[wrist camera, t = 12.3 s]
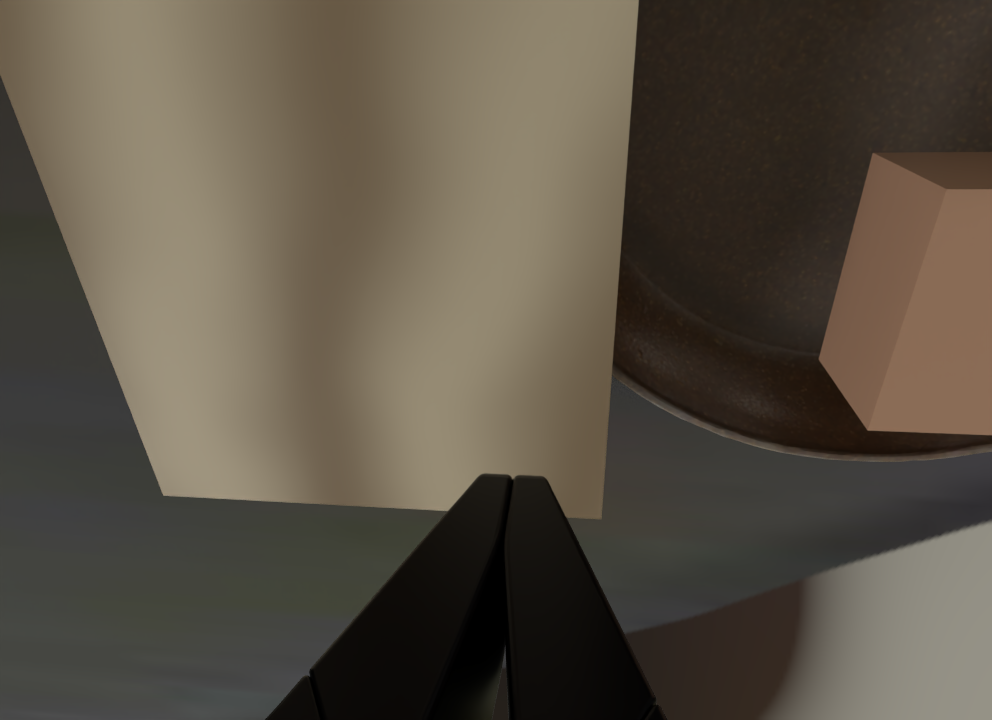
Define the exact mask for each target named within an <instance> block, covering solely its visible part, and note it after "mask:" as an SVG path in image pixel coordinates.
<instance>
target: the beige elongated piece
mask: <svg viewBox="0 0 992 720" xmlns="http://www.w3.org/2000/svg"><path fill="white" fill-rule="evenodd" d="M638 5H639V0H0V75H1V78H2V80H3V83H4V85H5V88H6V91H7V93H8V96H9V98H10V101H11V103H12V106H13V109H14V111H15V114H16V116H17V119H18V122H19V124H20V127H21V129H22V132H23V134H24V137H25V140H26V142H27V145H28V147H29V150H30V153H31V155H32V158H33V160H34V163H35V165H36V168H37V171H38V173H39V176H40V178H41V181H42V183H43V186H44V189H45V191H46V194H47V196H48V199H49V202H50V204H51V207H52V209H53V212H54V214H55V217H56V220H57V222H58V225H59V227H60V230H61V233H62V235H63V238H64V240H65V243H66V245H67V248H68V251H69V253H70V256H71V258H72V261H73V263H74V266H75V269H76V271H77V274H78V276H79V279H80V282H81V284H82V287H83V289H84V292H85V294H86V297H87V300H88V302H89V305H90V307H91V310H92V312H93V315H94V318H95V320H96V323H97V325H98V328H99V331H100V333H101V336H102V338H103V341H104V343H105V346H106V349H107V351H108V354H109V356H110V359H111V362H112V364H113V367H114V369H115V372H116V374H117V377H118V380H119V382H120V385H121V387H122V390H123V392H124V395H125V398H126V400H127V403H128V405H129V408H130V411H131V413H132V416H133V418H134V421H135V423H136V426H137V429H138V431H139V434H140V436H141V439H142V442H143V444H144V447H145V449H146V452H147V454H148V457H149V460H150V462H151V465H152V467H153V470H154V472H155V475H156V478H157V480H158V483H159V485H160V488H161V491H162V493H163V496H182V497H200V498H219V499H237V500H256V501H274V502H292V503H311V504H329V505H348V506H366V507H385V508H403V509H422V510H440V511H448V510H449V509H450V508H451V507H452V506H453V505H454V503H455V502H456V501H457V500H458V499H459V498H460V497H461V495H462V494H463V493H464V492H465V491H466V490H467V489H468V487H469V486H470V485H471V484H472V483H473V482H474V481H475V479H476V478H477V477H478V476H479V475H481V474H484V473H491V474H508V475H510V476H511V477H512V479H514V477H515V476H517V475H534V476H544V477H545V478H546V479H547V480H548V482H549V484H550V486H551V488H552V490H553V492H554V494H555V496H556V498H557V500H558V502H559V504H560V506H561V508H562V510H563V512H564V514H565V516H566V517H569V518H588V519H601V516H602V502H603V488H604V475H605V461H606V447H607V433H608V419H609V405H610V392H611V378H612V364H613V350H614V336H615V323H616V309H617V295H618V281H619V267H620V253H621V240H622V226H623V212H624V198H625V184H626V170H627V157H628V143H629V129H630V115H631V101H632V88H633V74H634V60H635V46H636V32H637V18H638Z"/></svg>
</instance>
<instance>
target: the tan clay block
mask: <svg viewBox="0 0 992 720" xmlns="http://www.w3.org/2000/svg"><path fill="white" fill-rule="evenodd" d="M819 361H820V362H821V364H822V365H823V367H824V368H825V369H826V371H827V372H828V374H829V375H830V377H831V378H832V380H833V381H834V382H835V384H836V385H837V387H838V388H839V390H840V391H841V393H842V394H843V396H844V397H845V398H846V400H847V401H848V403H849V404H850V406H851V407H852V409H853V410H854V412H855V413H856V414H857V416H858V417H859V419H860V420H861V422H862V423H863V425H864V426H865V427H866V429H867V430H868V431H894V432H920V433H946V434H972V435H992V152H904V153H873V154H872V158H871V162H870V165H869V169H868V173H867V177H866V181H865V184H864V188H863V192H862V196H861V200H860V204H859V207H858V211H857V215H856V219H855V223H854V226H853V230H852V234H851V238H850V242H849V245H848V249H847V253H846V257H845V261H844V265H843V268H842V272H841V276H840V280H839V284H838V287H837V291H836V295H835V299H834V303H833V306H832V310H831V314H830V318H829V322H828V326H827V329H826V333H825V337H824V341H823V345H822V348H821V352H820V356H819Z"/></svg>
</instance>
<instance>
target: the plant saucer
mask: <svg viewBox="0 0 992 720" xmlns="http://www.w3.org/2000/svg"><path fill="white" fill-rule="evenodd" d="M904 152H992V0H639V5H638V18H637V32H636V46H635V60H634V74H633V88H632V101H631V115H630V129H629V143H628V157H627V170H626V184H625V198H624V212H623V226H622V240H621V253H620V267H619V281H618V295H617V309H616V323H615V336H614V350H613V364H612V376H614V377H615V378H616V379H617V380H619V381H620V382H621V383H623V384H624V385H626V386H627V387H629V388H630V389H632V390H633V391H634V392H636V393H637V394H638V395H640V396H641V397H643V398H645V399H647V400H648V401H650V402H652V403H653V404H655V405H656V406H658V407H660V408H662V409H664V410H666V411H667V412H669V413H671V414H673V415H675V416H677V417H679V418H681V419H683V420H686V421H688V422H690V423H693V424H695V425H697V426H700V427H702V428H704V429H707V430H709V431H711V432H714V433H716V434H719V435H721V436H723V437H726V438H730V439H734V440H737V441H740V442H743V443H746V444H749V445H753V446H756V447H760V448H764V449H768V450H772V451H776V452H781V453H787V454H793V455H799V456H806V457H814V458H822V459H831V460H848V461H873V462H903V461H910V460H932V459H942V458H952V457H958V456H964V455H971V454H977V453H984V452H991V451H992V435H972V434H946V433H920V432H894V431H868V430H867V429H866V427H865V426H864V425H863V423H862V422H861V420H860V419H859V417H858V416H857V414H856V413H855V412H854V410H853V409H852V407H851V406H850V404H849V403H848V401H847V400H846V398H845V397H844V396H843V394H842V393H841V391H840V390H839V388H838V387H837V385H836V384H835V382H834V381H833V380H832V378H831V377H830V375H829V374H828V372H827V371H826V369H825V368H824V367H823V365H822V364H821V362H820V361H819V356H820V352H821V348H822V345H823V341H824V337H825V333H826V329H827V326H828V322H829V318H830V314H831V310H832V306H833V303H834V299H835V295H836V291H837V287H838V284H839V280H840V276H841V272H842V268H843V265H844V261H845V257H846V253H847V249H848V245H849V242H850V238H851V234H852V230H853V226H854V223H855V219H856V215H857V211H858V207H859V204H860V200H861V196H862V192H863V188H864V184H865V181H866V177H867V173H868V169H869V165H870V162H871V158H872V154H873V153H904Z"/></svg>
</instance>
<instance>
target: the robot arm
mask: <svg viewBox="0 0 992 720" xmlns="http://www.w3.org/2000/svg"><path fill="white" fill-rule="evenodd" d="M505 645H506V672H507V695H508V716H509V720H667V718H666V716H665V714H664V712H663V710H662V708H661V707H660V706H659V705H656V703H657V700H656V697H655V695H654V693H653V691H652V689H651V687H650V685H649V683H648V681H647V679H646V677H645V675H644V673H643V671H642V669H641V667H640V665H639V663H638V661H637V659H636V657H635V655H634V653H633V651H632V648H631V646H630V644H629V642H628V640H627V639H626V637H625V634H624V632H623V630H622V628H621V626H620V624H619V622H618V620H617V618H616V616H615V614H614V612H613V610H612V608H611V606H610V604H609V602H608V600H607V598H606V596H605V594H604V592H603V590H602V588H601V586H600V584H599V582H598V580H597V578H596V576H595V574H594V572H593V570H592V568H591V566H590V564H589V562H588V560H587V558H586V556H585V554H584V552H583V550H582V548H581V546H580V544H579V542H578V540H577V538H576V536H575V534H574V532H573V530H572V528H571V526H570V524H569V522H568V520H567V518H566V516H565V514H564V512H563V510H562V508H561V506H560V504H559V502H558V500H557V498H556V496H555V494H554V492H553V490H552V488H551V486H550V484H549V482H548V480H547V479H546V478H545V477H544V476H534V475H517V476H515V477H514V479H512V477H511V476H510V475H508V474H491V473H484V474H481V475H479V476H478V477H477V478H476V479H475V481H474V482H473V483H472V484H471V485H470V486H469V487H468V489H467V490H466V491H465V492H464V493H463V494H462V495H461V497H460V498H459V499H458V500H457V501H456V502H455V503H454V505H453V506H452V507H451V508H450V509H449V510H448V512H447V513H446V514H445V515H444V516H443V517H442V518H441V520H440V521H439V522H438V523H437V524H436V525H435V526H434V528H433V529H432V530H431V531H430V532H429V533H428V534H427V536H426V537H425V538H424V539H423V540H422V541H421V543H420V544H419V545H418V546H417V547H416V548H415V549H414V551H413V552H412V553H411V554H410V555H409V556H408V557H407V559H406V560H405V561H404V562H403V563H402V564H401V565H400V567H399V568H398V569H397V570H396V571H395V572H394V574H393V575H392V576H391V577H390V578H389V579H388V580H387V582H386V583H385V584H384V585H383V586H382V587H381V588H380V590H379V591H378V592H377V593H376V594H375V595H374V596H373V598H372V599H371V600H370V601H369V602H368V603H367V605H366V606H365V607H364V608H363V609H362V610H361V611H360V613H359V614H358V615H357V616H356V617H355V618H354V619H353V621H352V622H351V623H350V624H349V625H348V626H347V627H346V629H345V630H344V631H343V632H342V633H341V634H340V636H339V637H338V638H337V639H336V640H335V641H334V642H333V644H332V645H331V646H330V647H329V648H328V649H327V650H326V652H325V653H324V654H323V655H322V656H321V657H320V658H319V660H318V661H317V662H316V663H315V664H314V665H313V667H312V668H311V669H310V671H309V674H310V677H309V676H303V677H302V678H301V680H300V681H299V682H298V683H297V684H296V685H295V687H294V688H293V689H292V690H291V691H290V692H289V694H288V695H287V696H286V697H285V698H284V699H283V700H282V702H281V703H280V704H279V705H278V706H277V707H276V708H275V709H274V710H273V712H272V713H271V714H270V715H269V716H268V717H267V718H266V719H265V720H492V716H493V711H494V706H495V701H496V696H497V691H498V686H499V681H500V676H501V671H502V665H503V659H504V653H505Z"/></svg>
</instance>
